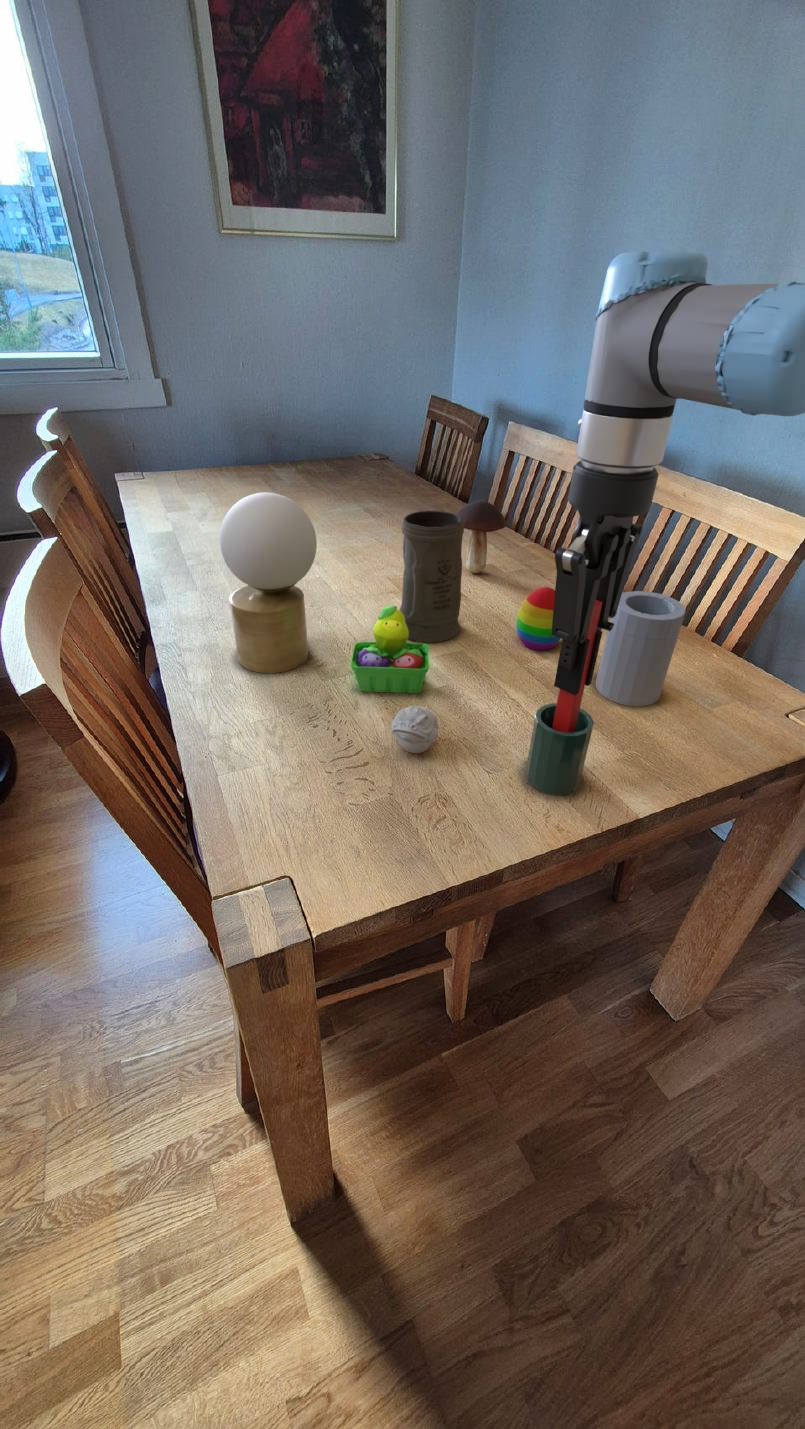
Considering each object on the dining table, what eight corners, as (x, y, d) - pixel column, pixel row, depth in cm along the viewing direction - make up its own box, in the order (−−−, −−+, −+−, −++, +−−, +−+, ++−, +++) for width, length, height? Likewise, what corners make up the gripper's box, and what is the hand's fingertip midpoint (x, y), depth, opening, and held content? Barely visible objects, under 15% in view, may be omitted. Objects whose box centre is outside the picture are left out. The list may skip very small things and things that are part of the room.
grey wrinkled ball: (382, 760, 80) (383, 715, 76) (401, 730, 85) (402, 687, 81) (428, 771, 78) (430, 726, 74) (444, 740, 84) (447, 696, 80)
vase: (670, 689, 96) (696, 604, 88) (642, 714, 90) (667, 626, 82) (613, 667, 101) (633, 585, 93) (584, 689, 95) (602, 604, 87)
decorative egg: (507, 647, 106) (514, 591, 100) (522, 627, 112) (530, 574, 106) (554, 658, 103) (565, 602, 97) (567, 638, 109) (578, 584, 103)
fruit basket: (350, 696, 92) (348, 627, 86) (356, 665, 100) (355, 600, 93) (427, 699, 92) (431, 630, 86) (428, 668, 99) (431, 603, 93)
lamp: (260, 624, 111) (242, 478, 96) (335, 635, 108) (328, 486, 93) (216, 665, 99) (189, 505, 84) (299, 679, 96) (285, 516, 81)
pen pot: (589, 777, 78) (603, 718, 73) (561, 803, 74) (574, 743, 69) (544, 754, 82) (555, 696, 77) (515, 777, 78) (524, 718, 73)
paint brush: (574, 767, 77) (610, 601, 64) (560, 779, 75) (595, 611, 62) (551, 756, 79) (583, 592, 66) (537, 767, 77) (567, 601, 64)
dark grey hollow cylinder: (474, 634, 109) (479, 517, 99) (424, 650, 104) (424, 529, 93) (422, 608, 120) (422, 500, 109) (375, 621, 115) (370, 509, 104)
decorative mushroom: (510, 571, 133) (518, 500, 125) (481, 587, 126) (489, 512, 117) (467, 559, 139) (473, 490, 130) (438, 573, 132) (442, 501, 123)
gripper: (617, 445, 63) (577, 650, 77) (535, 470, 54) (505, 698, 67) (691, 457, 59) (634, 672, 72) (615, 486, 50) (566, 726, 63)
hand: (572, 684), depth 70 cm, fingers closed on paint brush, 2 cm apart
